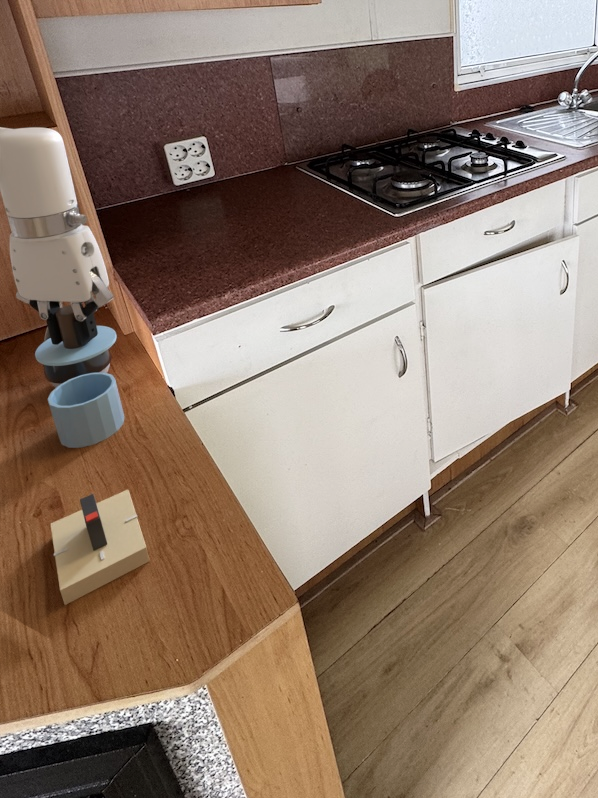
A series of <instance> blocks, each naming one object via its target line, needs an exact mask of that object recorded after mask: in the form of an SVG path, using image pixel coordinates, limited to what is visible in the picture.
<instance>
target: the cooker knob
mask: <svg viewBox="0 0 598 798" xmlns="http://www.w3.org/2000/svg"><path fill="white" fill-rule="evenodd" d="M79 503H80V507H81V510H82V511H83V515H84V519H85V523H86V527H87V530H88V534H89V537H90V541H91V544H92V547H93V551H95V550H97V549H99V548H101V547H103V546H105V545H107V541H106V537H105V533H104V530H103V526H102V522H101V519H100V515H99V511H98V508H97V504H96V503H97V501H96V498H95V493H92V494H91V493H90V494H89V495H87V496H84V497H82V498H80V499H79Z"/></svg>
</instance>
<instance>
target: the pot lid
mask: <svg viewBox="0 0 598 798" xmlns="http://www.w3.org/2000/svg"><path fill="white" fill-rule="evenodd" d="M55 314H56V317H57V321H58V325H59V329H60V333H61V337H62V342H61V343H59V344H58V345H54V344H52V341H51V338H50V339H48V340H46V341H45V342H44V341H43V342H42V343H41V344H40V345H39V346H38V347H37V348H36V350H35V353H34V357H35V360H36V361H37V362H38V363H39V364H41V365H43V364H44V365H49V366H62V365H69V364H74V363H78V362H82V361H85V360H88V359H91V358H93V357H95V356H97V355H99V354H101V353H103V352H105V351H106V350H107V349H109V350H110V348H111V347H112V346H113V345H115V343H116V341H117V338H118V337H117V332H116V331H115V329H113V328H112V327H109V326H105V325H96V326H97V331H98V334H97V336H96V337H95V338H93V339H92V340H91V341H90V342H88V343H87V344H86V345H84V346H79V345H78V343H77V339H76V335H75V331H74V327H73V322H74V321H75V320H77V319H76V318H75V315H74V312H73V309H72V306H71V304H69V305H65V306H63V307H62V308H60V309H58V310H57V311H56V313H55Z"/></svg>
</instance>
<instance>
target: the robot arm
mask: <svg viewBox="0 0 598 798" xmlns="http://www.w3.org/2000/svg"><path fill="white" fill-rule="evenodd" d="M66 150H67V149H66V147H65V142H64V138H63V137H62V135H61V134H60V133H59V132H58V131H57V130H54V129H52V128H47V127H38V126H37V127H36V126H35V127H20V128H8V127H1V126H0V195H1V199H2V202H3V206H4V209H5V214H6V217H7V221H8V225H9V229H10V231H11V233H10V234H9V239H8V240H9V243H8V244H9V256H10V257H9V258H10V264H11V270H12V276H13V279H14V284H15V287H16V290H17V291H16V294H15V298H16V299H17V300H18V301H21V302H23V303H25V304H28V305H29V306H30V307H31V308H33V309H34V310H35V311H36V312H38V314H39V318H40V319H42V320H43V321H45V322H46V325H47V327H48V329H49V333H50V337H51V341H52V344H54V345H58V344H59V343H61V342H62V337H61V333H60V329H59V325H58V321H57V317H56V314H55V313H56V311H57V310H58V309H60V308H62V307H64V306H63V302H65V303H70V304H69V305H71V306H72V309H73V312H74V315H75V318H76V319H77V320H75V321H74V322H73V327H74V331H75V335H76V339H77V343H78V345H79V346H84V345H86V344H87V343H88V342H90V341H91V340H92V339H93V338H95V337H96V336H97V334H98V331H97V326H98V325H97V323H96V319H95V315H94V313H96V312H97V311H98V309H99V308H101V307H103V306H105V305H107V304H108V303H110V302H111V301H112V300H114V299H115V296H114V294H113V293H112V292H111V291H110V289H109V286H110V280H109V275H108V271H107V267H106V264H105V260H104V258H103V254H102V252H101V249H100V246H99V244H98V242H97V240H96V237H95V235H94V234H93V231H92V230H91V228H90V226H88V225H86V224H87V222H88V217H87V215H86V214H81V212H80V207H79V205H78V201H77V195H76V190H75V186H74V182H73V181H74V180H73V178H72V172H71V168H70V164H69V159H68V155H67V151H66ZM94 296H95V297H94ZM83 303H84V304H83Z"/></svg>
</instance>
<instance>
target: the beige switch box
mask: <svg viewBox="0 0 598 798" xmlns="http://www.w3.org/2000/svg"><path fill="white" fill-rule="evenodd" d="M130 493H131V492H130V489H125V490H124V491H121V492H118V493H115V494H114V495H112V496H110V497H107V498H106V499H103V500H101V501H98V502H96V504H97V508H98V511H99V515H100V519H101V522H102V526H103V530H104V533H105V537H106V541H107V545H105V546H103V547H101V548H99V549H97V550H95V551H93V547H92V544H91V541H90V537H89V534H88V530H87V527H86V523H85V519H84V515H83V511H82V509H80V510H78V511H76V512H73V513H71V514H68V515H67V516H65V517H63V518H60V519H58V520H55V521H52V522H51V523H50V530H51V531H50V532H51V539H52V544H53V551H54V553H53V557H54V560H55V566H56V573H57V579H58V586H59V592H60V595H61V597H62V600H63V605H64V606H66V605H68V604H70V603H72V602H74V601H76V600H78V599H80V598H81V597H83V596H85V595H88V594H89V593H91V592H93V591H95V590H97V589H99V588H101V587H103V586H105V585H107V584H109V583H111V582H113V581H114V580H117V579H118V578H120V577H123V576H124V575H126V574H128V573H130V572H132V571H134V570H135V569H137V568H139V567H141V566H143V565H145V564H147V563H149V562H150V561H151V559H150V556H149V552H148V548H147V545H146V541H145V538H144V535H143V532H142V529H141V525H140V522H139V519H138V517H139V516H138V514H137V512H136V509H135V506H134V503H133V500H132V496H131V494H130Z"/></svg>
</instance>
